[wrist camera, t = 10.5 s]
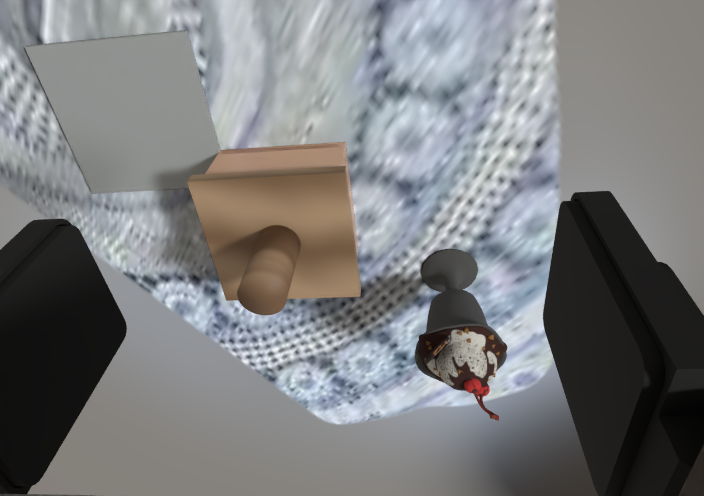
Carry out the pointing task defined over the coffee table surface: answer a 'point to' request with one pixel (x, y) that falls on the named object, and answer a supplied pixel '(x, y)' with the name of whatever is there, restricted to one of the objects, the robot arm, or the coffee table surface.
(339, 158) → the open wooden box
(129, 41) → the mat
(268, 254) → the lid
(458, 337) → the sundae
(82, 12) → the coffee table surface
